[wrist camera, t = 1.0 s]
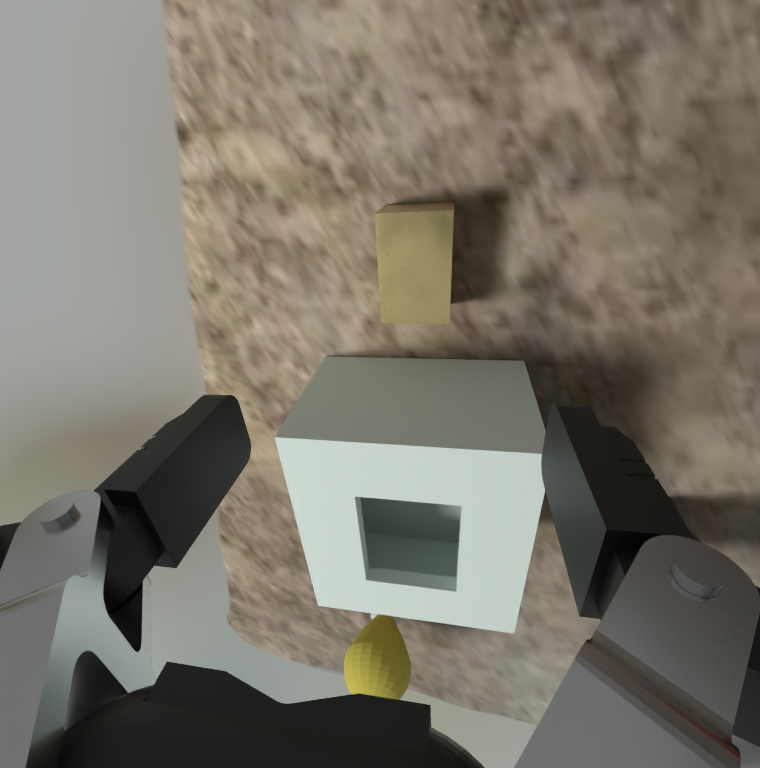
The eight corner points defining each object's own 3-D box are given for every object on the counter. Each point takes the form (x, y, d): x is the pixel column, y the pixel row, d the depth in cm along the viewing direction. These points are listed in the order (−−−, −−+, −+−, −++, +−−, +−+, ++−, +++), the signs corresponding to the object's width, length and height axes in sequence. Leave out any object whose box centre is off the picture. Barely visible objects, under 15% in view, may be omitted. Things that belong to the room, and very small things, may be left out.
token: (385, 204, 23) (374, 213, 20) (454, 202, 22) (453, 210, 19) (390, 302, 26) (381, 322, 23) (450, 303, 25) (449, 323, 22)
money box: (325, 356, 29) (274, 437, 21) (524, 360, 26) (553, 454, 18) (348, 506, 37) (318, 605, 29) (501, 520, 34) (514, 633, 26)
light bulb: (426, 613, 44) (419, 723, 36) (375, 619, 47) (357, 722, 38) (401, 578, 41) (386, 688, 33) (348, 586, 44) (322, 690, 36)
